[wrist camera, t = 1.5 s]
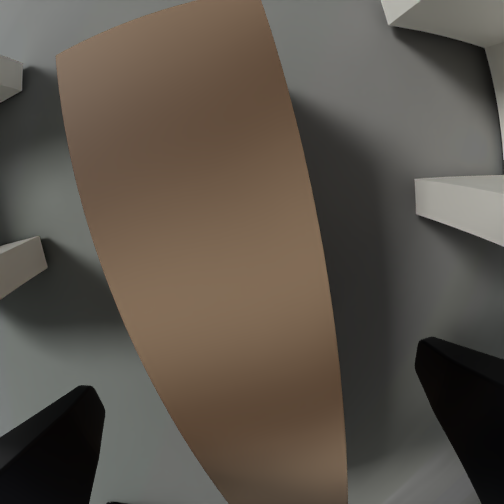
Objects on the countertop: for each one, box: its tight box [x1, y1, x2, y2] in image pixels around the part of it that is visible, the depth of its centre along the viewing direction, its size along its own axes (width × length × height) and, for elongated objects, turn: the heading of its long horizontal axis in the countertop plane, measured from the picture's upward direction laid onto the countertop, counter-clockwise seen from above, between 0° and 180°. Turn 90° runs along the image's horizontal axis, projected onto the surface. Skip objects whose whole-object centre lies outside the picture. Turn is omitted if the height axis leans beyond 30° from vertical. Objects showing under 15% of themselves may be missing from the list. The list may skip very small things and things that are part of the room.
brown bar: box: [56, 0, 348, 504], centre depth 8 cm, size 16×4×5 cm, turn 13°
